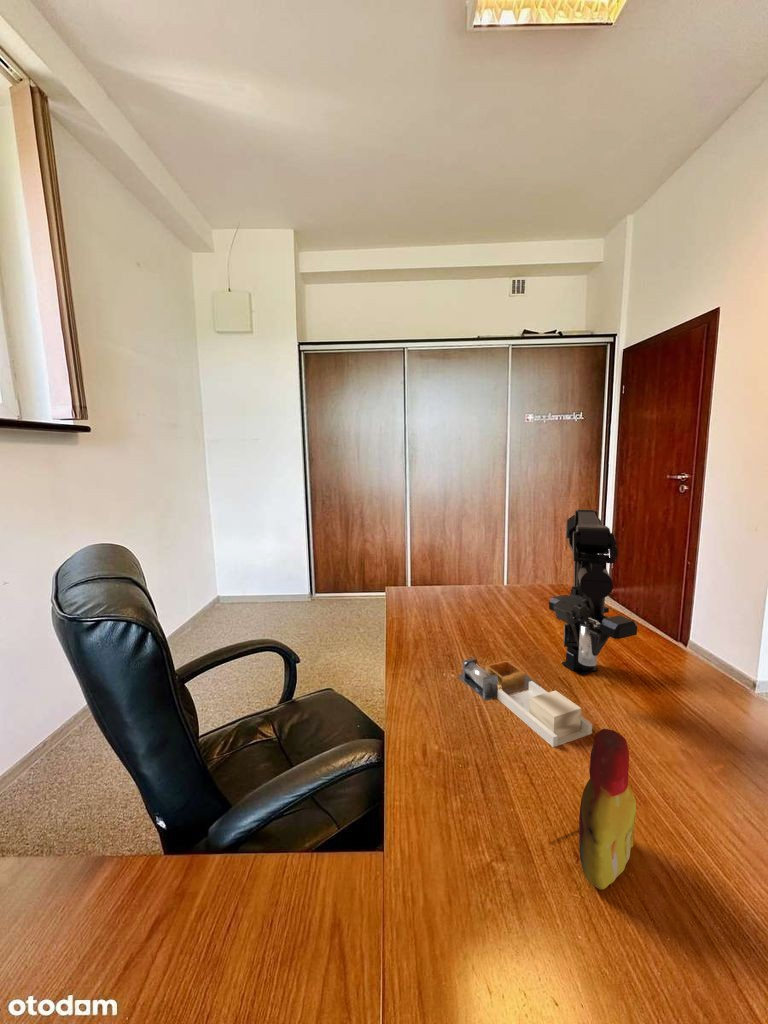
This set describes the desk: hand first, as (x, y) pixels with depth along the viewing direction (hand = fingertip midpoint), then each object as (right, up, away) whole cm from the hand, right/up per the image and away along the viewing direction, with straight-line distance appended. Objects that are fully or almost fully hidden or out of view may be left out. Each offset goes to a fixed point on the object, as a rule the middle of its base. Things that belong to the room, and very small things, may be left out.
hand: (587, 651), depth 91 cm
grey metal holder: (-17, -12, +12) cm, 24 cm away
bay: (-11, -14, -2) cm, 18 cm away
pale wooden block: (-10, -14, -5) cm, 18 cm away
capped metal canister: (0, -3, 0) cm, 2 cm away
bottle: (-15, -18, -34) cm, 41 cm away
